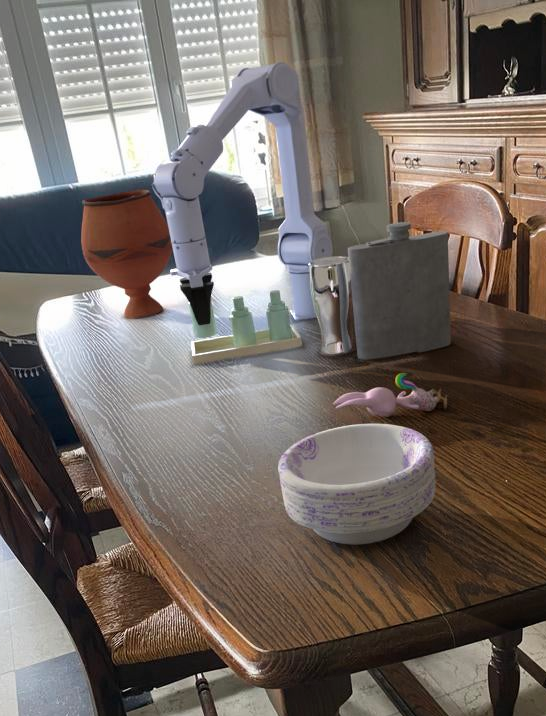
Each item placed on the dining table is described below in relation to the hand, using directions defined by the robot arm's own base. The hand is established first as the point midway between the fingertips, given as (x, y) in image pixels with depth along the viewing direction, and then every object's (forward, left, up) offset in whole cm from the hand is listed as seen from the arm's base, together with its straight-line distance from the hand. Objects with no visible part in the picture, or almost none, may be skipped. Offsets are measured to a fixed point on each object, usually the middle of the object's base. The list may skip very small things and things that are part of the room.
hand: (203, 320), depth 131 cm
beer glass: (-22, +10, -6) cm, 25 cm away
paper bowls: (-13, +67, -6) cm, 68 cm away
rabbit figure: (-23, +41, -6) cm, 47 cm away
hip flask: (-32, +16, -6) cm, 36 cm away
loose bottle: (0, 0, -2) cm, 2 cm away
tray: (-7, 0, -6) cm, 9 cm away
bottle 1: (-7, 0, -6) cm, 9 cm away
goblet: (+13, -42, -6) cm, 45 cm away
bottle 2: (-13, 0, -6) cm, 14 cm away
